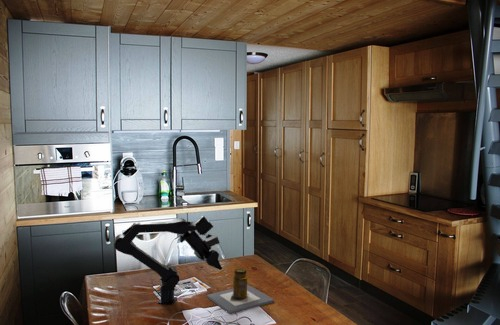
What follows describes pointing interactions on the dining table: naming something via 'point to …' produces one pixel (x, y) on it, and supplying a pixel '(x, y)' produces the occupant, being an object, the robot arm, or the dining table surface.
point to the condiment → (239, 286)
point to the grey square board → (231, 307)
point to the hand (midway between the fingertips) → (217, 267)
